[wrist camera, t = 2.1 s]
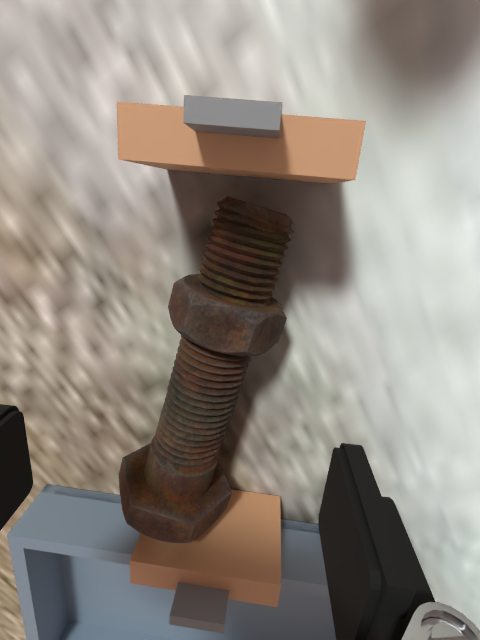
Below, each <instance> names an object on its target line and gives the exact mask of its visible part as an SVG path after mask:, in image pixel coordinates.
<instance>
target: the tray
mask: <svg viewBox="0 0 480 640" xmlns="http://www.w3.org/2000/svg"><path fill="white" fill-rule="evenodd" d="M140 534H141V533H140V532H138V531H137V530H135V529H134V528H132V527H131V526H129V525H128V524H127V523H126V520H125V518H124V515H123V511H122V505H121V496H120V495H116V494H109V493H102V492H95V491H89V490H82V489H75V488H68V487H61V486H55V485H48V484H47V485H46V486H45V487H44V489H43V490H42V491H41V493H40V494H39V495H38V496H37V498H36V499H35V500H34V501H33V503H32V504H31V505H30V506H29V508H28V509H27V510H26V512H25V513H24V514H23V515H22V517H21V518H20V519H19V520H18V522H17V523H16V524H15V525H14V527H13V528H12V529H11V531H10V532H9V533H8V534H7V537H8V542H9V548H10V553H11V558H12V564H13V569H14V575H15V580H16V585H17V591H18V596H19V601H20V607H21V612H22V617H23V623H24V628H25V634H26V639H27V640H336V635H335V629H334V623H333V616H332V610H331V603H330V597H329V591H328V584H327V578H326V572H325V565H324V559H323V553H322V546H321V540H320V533H319V525H318V524H311V523H305V522H298V521H291V520H284V519H281V589H280V595H279V600H278V606H277V607H273V606H267V605H261V604H255V603H249V602H243V601H236V600H230V599H228V604H227V613H226V621H225V629H224V634H223V633H217V632H211V631H205V630H199V629H193V628H187V627H181V626H175V625H170V624H169V619H170V612H171V608H172V604H173V600H174V596H175V592H176V591H175V590H169V589H163V588H157V587H151V586H145V585H139V584H132V583H130V559H131V556H132V554H133V551H134V549H135V546H136V544H137V541H138V539H139V536H140Z"/></svg>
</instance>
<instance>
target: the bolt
mask: <svg viewBox="0 0 480 640" xmlns="http://www.w3.org/2000/svg"><path fill="white" fill-rule="evenodd" d="M217 204H218V206H219V207H220V209H218V210H216V211H214V212H215V214H216V215H217V218H214V219H212V220H213V222H214V224H215V225H216V226H214V227H211V228H210V229H211V231H212V233H213V234H212V235H209V236H208V238H209V239H210V241H211V242H210V243H208V244H206V246H207V248H208V251H205V252H204V253H203V254H204V255H205V257H206V259H203V260H201V261H202V263H203V265H204V266H203V267H200V269H199V270H200V272H201V273H202V274H195V275H188V276H185V277H184V278H182V279H180V280H178V281H176V282H175V283H174V285H173V289H172V293H171V297H170V302H169V306H168V308H169V313H170V318H171V321H172V324H173V326H174V328H175V329H176V330H177V331H178V332H179V333H180V334H181V338H182V339H181V340H180V346H179V347H178V353H177V354H176V360H175V361H174V367H173V372H172V373H171V379H170V381H169V386H168V389H167V390H168V392H167V395H166V398H165V403H164V405H163V409H162V412H161V416H160V419H159V422H158V427H157V430H156V434H155V436H154V438H153V439H152V442H151V443H150V444H148V445H146V446H144V447H142V448H141V449H139V450H137V451H135V452H133V453H131V454H129V455H127V456H125V457H123V459H122V464H121V468H120V472H119V488H120V496H121V505H122V511H123V515H124V518H125V520H126V523H127V524H128V525H129V526H131V527H132V528H134V529H135V530H137V531H138V532H140V533H142V534H144V535H145V536H147V537H150V538H153V539H155V540H159V541H162V542H169V543H190V542H192V541H193V540H195V539H197V538H198V537H199V536H200V535H202V534H203V533H204V532H205V531H206V530H207V529H209V528H210V527H211V526H212V525H213V524H214V523H215V521H216V520H217V519H218V518H219V517H220V516H221V514H222V513H223V512H224V511H225V509H226V508H227V506H228V503H229V500H230V498H231V495H232V493H233V492H232V490H231V488H230V486H229V483H228V481H227V479H226V477H225V475H224V473H223V471H222V469H221V466H220V464H219V462H218V457H219V454H218V453H219V451H220V447H221V445H222V441H223V439H224V435H225V432H226V430H227V428H228V424H229V422H230V418H231V416H232V412H233V410H234V406H235V404H236V400H237V398H238V394H239V392H240V388H241V386H242V382H243V380H244V375H245V374H246V368H247V367H248V362H249V361H250V358H251V356H254V355H259V354H262V353H264V352H265V351H267V350H268V349H270V348H271V347H272V346H273V345H275V344H276V343H277V342H278V341H279V338H280V335H281V332H282V330H283V327H284V324H285V321H286V319H287V318H286V316H285V314H284V312H283V310H282V308H281V306H280V304H279V303H278V302H277V300H275V299H274V298H272V297H271V296H272V292H271V290H273V289H274V287H275V286H274V284H273V283H274V282H276V281H277V278H276V276H275V275H277V274H279V273H280V271H279V270H278V267H280V266H282V262H281V261H280V259H282V258H284V257H285V254H284V253H283V252H282V251H284V250H286V249H288V247H287V245H286V244H285V243H286V242H288V241H290V240H291V239H290V237H289V236H288V234H291V233H293V232H294V231H293V229H292V228H291V227H290V226H291V225H292V224H293V222H292V220H291V219H290V218H289V217H288V216H287V215H285V214H282V213H279V212H275V211H272V210H269V209H266V208H263V207H259V206H256V205H253V204H250V203H247V202H243V201H240V200H237V199H234V198H231V197H226V198H225V199H223V200H221V201H219V202H217Z"/></svg>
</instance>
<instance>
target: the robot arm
mask: <svg viewBox="0 0 480 640" xmlns="http://www.w3.org/2000/svg"><path fill="white" fill-rule="evenodd" d="M32 485H33V477H32V470H31V464H30V457H29V450H28V443H27V437H26V430H25V423H24V416H23V413H22V412H19V409H18V408H17V407H16V406H11V405H2V404H0V530H1V529H2V528H3V526H4V525H5V524H6V523H7V521H8V520H9V519H10V517H11V516H12V515H13V514H14V512H15V511H16V510H17V508H18V507H19V506H20V505H21V503H22V502H23V501H24V499H25V498H26V497H27V496H28V494H29V493H30V491H31V488H32ZM319 533H320V540H321V546H322V553H323V559H324V565H325V572H326V578H327V584H328V591H329V597H330V603H331V610H332V616H333V623H334V629H335V635H336V640H480V630H479V629H478V628H477V627H476V626H475V624H474V623H473V622H471V621H470V620H469V619H468V618H467V617H466V616H465V615H463V614H462V613H460V612H459V611H457V610H456V609H454V608H452V607H451V606H448V605H445V604H442V603H439V602H435V600H434V597H433V595H432V593H431V590H430V588H429V585H428V583H427V580H426V578H425V576H424V573H423V571H422V568H421V566H420V564H419V561H418V559H417V556H416V554H415V551H414V549H413V547H412V544H411V542H410V539H409V537H408V534H407V532H406V530H405V527H404V525H403V522H402V520H401V517H400V515H399V513H398V510H397V508H396V505H395V503H394V502H393V500H392V499H391V498H390V497H382V496H381V494H380V491H379V488H378V486H377V483H376V481H375V478H374V475H373V473H372V470H371V467H370V465H369V462H368V459H367V457H366V454H365V451H364V449H363V447H362V446H361V445H353V444H345V443H342V444H341V445H340V448H334V449H333V453H332V458H331V462H330V467H329V471H328V476H327V481H326V485H325V490H324V495H323V499H322V504H321V508H320V513H319Z"/></svg>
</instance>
